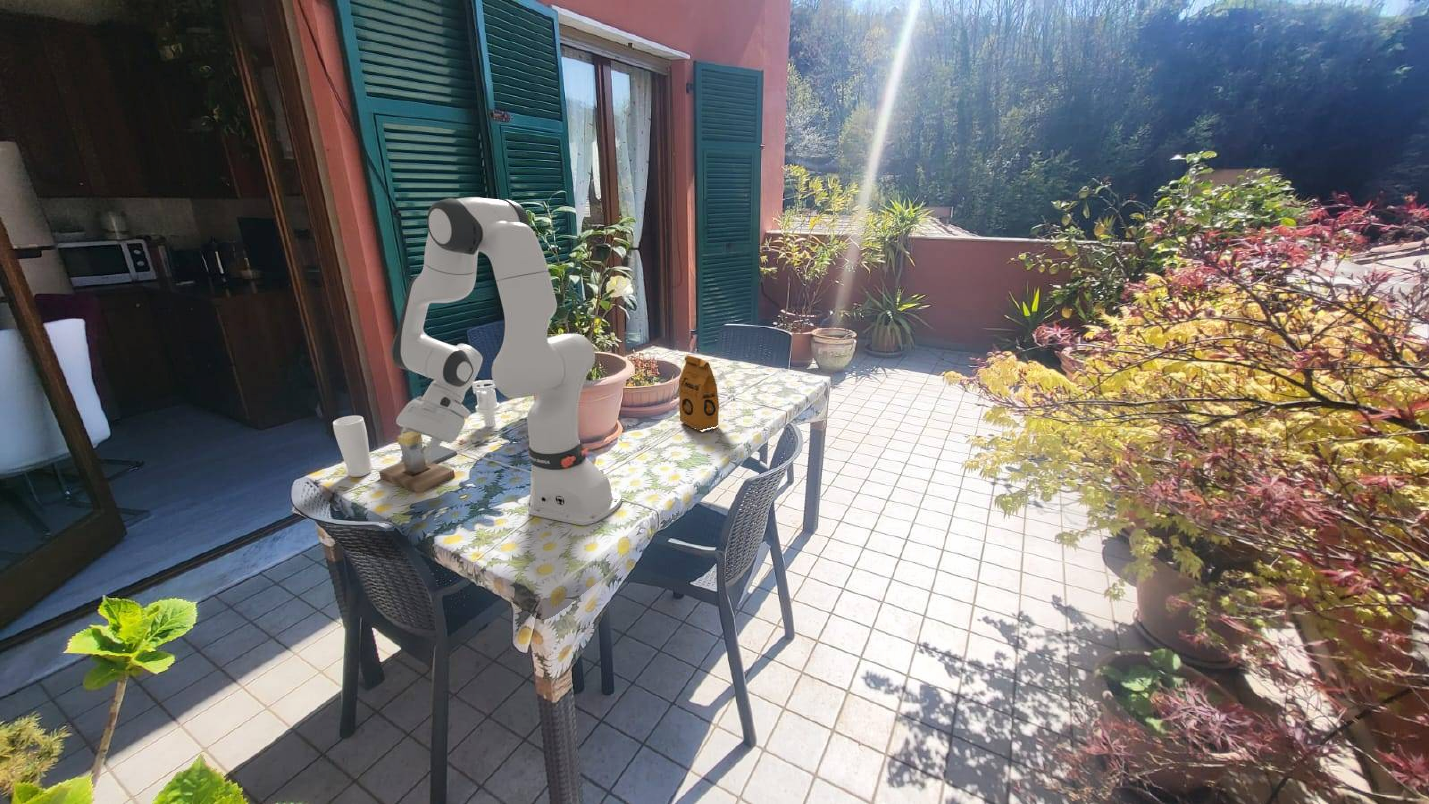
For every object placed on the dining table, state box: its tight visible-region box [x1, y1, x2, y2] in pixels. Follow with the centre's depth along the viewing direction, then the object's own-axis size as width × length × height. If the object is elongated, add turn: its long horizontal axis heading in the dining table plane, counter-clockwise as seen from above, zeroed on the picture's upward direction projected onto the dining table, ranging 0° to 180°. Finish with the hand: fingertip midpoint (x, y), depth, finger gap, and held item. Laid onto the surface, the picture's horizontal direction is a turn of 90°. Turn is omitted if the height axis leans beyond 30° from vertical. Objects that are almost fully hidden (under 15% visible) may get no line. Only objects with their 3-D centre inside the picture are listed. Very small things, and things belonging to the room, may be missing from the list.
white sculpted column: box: [471, 379, 501, 428], centre depth 176 cm, size 7×7×15 cm
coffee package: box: [678, 354, 720, 431], centre depth 175 cm, size 10×12×22 cm
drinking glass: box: [332, 415, 373, 478], centre depth 146 cm, size 7×7×15 cm
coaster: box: [400, 444, 458, 464], centre depth 157 cm, size 10×10×1 cm
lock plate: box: [378, 460, 456, 494], centre depth 146 cm, size 16×10×2 cm, turn 60°
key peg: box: [397, 431, 427, 477], centre depth 144 cm, size 4×4×12 cm
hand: (413, 449), depth 144 cm, fingers open, 8 cm apart
